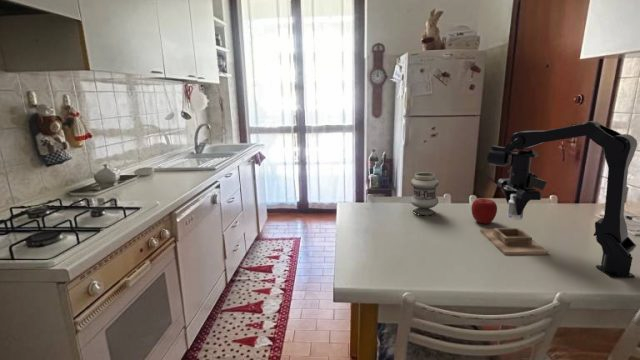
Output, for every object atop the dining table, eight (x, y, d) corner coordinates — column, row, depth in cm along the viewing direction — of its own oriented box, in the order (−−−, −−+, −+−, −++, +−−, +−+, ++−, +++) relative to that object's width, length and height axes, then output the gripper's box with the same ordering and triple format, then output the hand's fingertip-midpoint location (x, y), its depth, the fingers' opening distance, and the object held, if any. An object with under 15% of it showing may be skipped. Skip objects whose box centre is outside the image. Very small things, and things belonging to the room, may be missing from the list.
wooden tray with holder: (547, 254, 114) (549, 244, 113) (503, 254, 115) (505, 244, 114) (517, 231, 134) (518, 222, 133) (480, 231, 134) (480, 223, 134)
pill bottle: (524, 220, 120) (527, 197, 118) (509, 220, 120) (511, 196, 118) (519, 216, 124) (522, 193, 122) (505, 215, 125) (507, 192, 123)
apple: (501, 224, 141) (503, 200, 139) (483, 228, 138) (485, 203, 136) (482, 217, 150) (484, 194, 147) (465, 220, 146) (466, 197, 144)
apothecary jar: (404, 210, 162) (405, 172, 157) (427, 207, 165) (429, 169, 161) (419, 218, 150) (421, 177, 146) (443, 215, 154) (445, 175, 150)
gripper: (561, 174, 109) (555, 221, 112) (530, 162, 127) (525, 204, 130) (524, 174, 109) (519, 221, 113) (498, 163, 127) (494, 204, 131)
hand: (515, 212), depth 122 cm, fingers closed on pill bottle, 5 cm apart
